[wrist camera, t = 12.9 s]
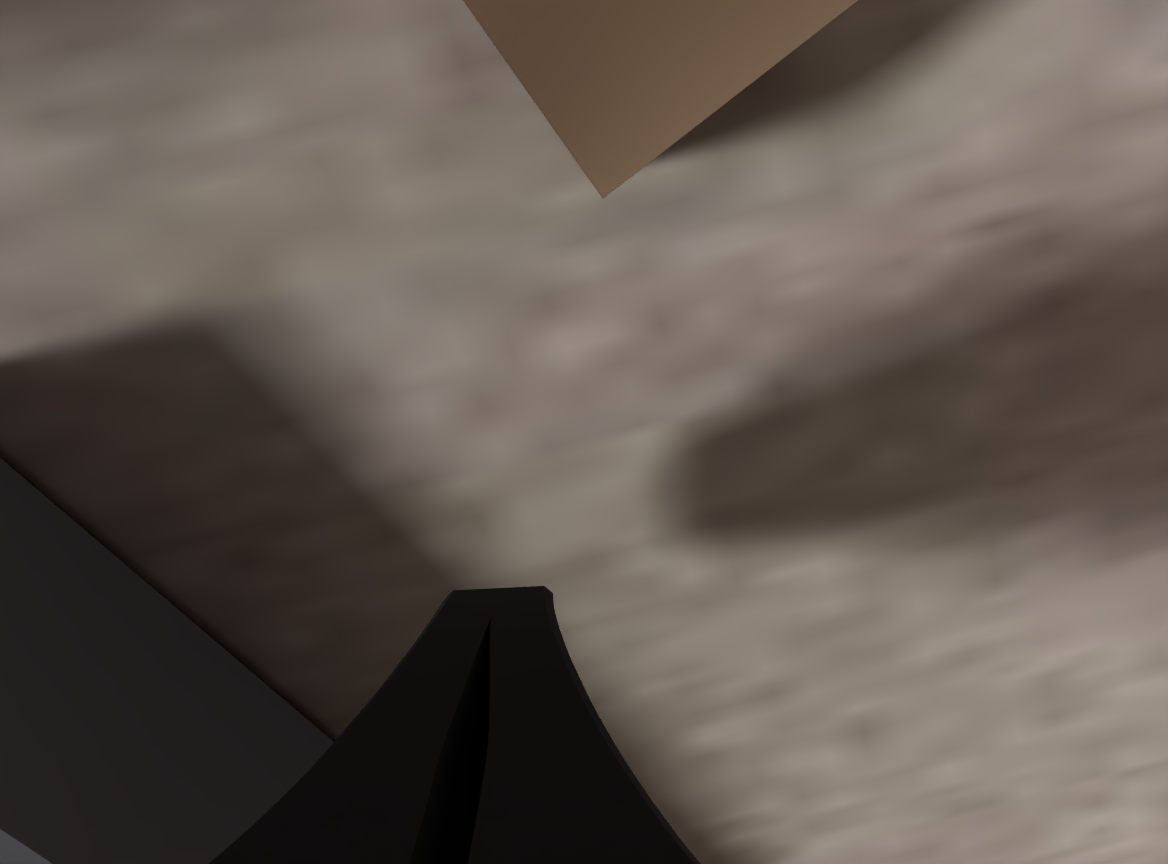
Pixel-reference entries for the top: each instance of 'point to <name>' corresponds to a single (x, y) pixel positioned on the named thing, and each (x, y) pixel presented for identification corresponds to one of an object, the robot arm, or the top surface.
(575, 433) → the top surface
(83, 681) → the tray
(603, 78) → the walnut block
